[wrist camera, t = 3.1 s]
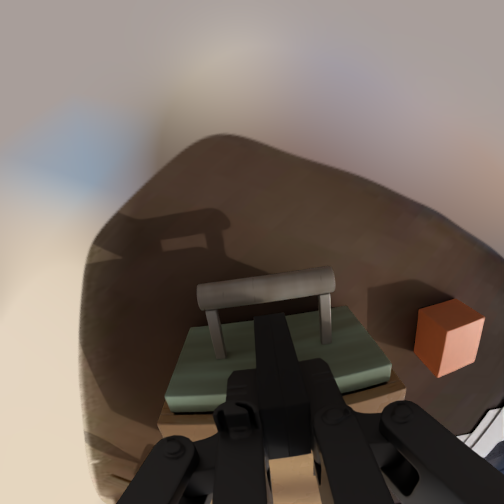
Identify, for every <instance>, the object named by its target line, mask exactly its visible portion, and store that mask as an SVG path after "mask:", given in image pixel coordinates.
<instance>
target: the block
mask: <svg viewBox="0 0 504 504" xmlns="http://www.w3.org/2000/svg"><path fill="white" fill-rule="evenodd" d="M484 318H485V317H484V316H483V315H481V314H479V313H478V312H476V311H475V310H473V309H472V308H470V307H468V306H467V305H465V304H464V303H462V302H460V301H459V300H457V299H452V300H449V301H445V302H442V303H439V304H435V305H432V306H428V307H425V308H421V309H419V311H418V321H417V330H416V338H415V345H414V353H415V354H416V355H417V356H418V357H419V359H420V360H421V361H422V362H423V363H424V364H425V365H426V366H427V367H428V369H429V370H430V371H431V372H432V373H433V374H434V375H435V376H436V377H437V378H439V377H441V376H443V375H446V374H448V373H451V372H453V371H455V370H457V369H460V368H462V367H464V366H466V365H468V364H470V363H473V362H474V361H475V357H476V353H477V350H478V346H479V342H480V337H481V333H482V328H483V323H484Z"/></svg>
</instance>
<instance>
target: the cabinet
mask: <svg viewBox="0 0 504 504" xmlns="http://www.w3.org/2000/svg"><path fill="white" fill-rule="evenodd" d="M367 389H368V390H365V391H361V392H357V393H353V394H349V395H344V396H343V399H344V401H345V403H346V405H348V406H350V407H351V408H352V409H353V410H354V411H356V412H360V413H382V411H383V409H384V407H386V406H387V405H388V404H389V403H392V402H395V401H400V400H404V397H405V392H406V387H405V386H404V384H403V383H402V381H401V380H400V379H399V378H398V376H397V375H396V373H395V372H394V371H393V369H392V368H391V374H390V380H389V381H387V382H384V383H380V384H377V385H373V386H370V387H367ZM212 415H213V414H201V415H194V412H171V411H170V409H169V406H168V404H167V401H166V399H165V402H164V405H163V408H162V411H161V415H160V416H159V419H158V422H157V426H158V428H159V430H160V432H161V434H162V436H163V438H165V437H168V436H172V435H182V436H185V437H187V438H189V439H190V440H191V441H192V442H194V441H198V440H202V439H206V438H208V437H211V436H213V435H214V434H216V433H217V432H218V431H217V428H216V425H215V422H214V419H213V416H212ZM269 467H270V471H271V482H272V493H273V504H322V502H321V498H320V493H319V489H318V484H317V479H316V475H315V476H313V454H312V449H311V454H306V455H300V456H294V457H287V458H280V459H272V460H269ZM210 504H212V501H211V503H210Z"/></svg>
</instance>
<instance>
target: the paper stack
mask: <svg viewBox="0 0 504 504" xmlns="http://www.w3.org/2000/svg"><path fill="white" fill-rule="evenodd" d="M456 437H457V438H459V439H460V440H461V441H462V442H464V443H465V444H466V445H467V446H468V447H470V448H471V449H472V450H473V451H475V452H476V453H477V454H478V455H480V456H481V457H482V458H483V457H486V456H487V455H488V454H489V452H490V451H491V450H492V449H493V448H494V447H495V445H496V444H497V443H498V442H500V441H503V440H504V407H503V408H499V409H494V410H489V412H488V413H487V415H486V416H485V417H484V419H483V420H482V421H481V423H480V424H479V425H478V427H477V428H476V429H475V430H474V432H473V433H471V434H466V435H461V436H456Z"/></svg>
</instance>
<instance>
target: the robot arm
mask: <svg viewBox="0 0 504 504" xmlns="http://www.w3.org/2000/svg"><path fill="white" fill-rule="evenodd" d="M253 318H254V336H255V354H256V368H254V369H246V370H236V371H233V372H232V373H231V375H230V376H229V378H228V380H227V391H226V402H224V403H222V404H220V405H219V406H218V407H217V408H216V409H215V410H214V412H213V415H212V416H213V419H214V422H215V425H216V428H217V431H218V432H217V433H216V434H214V435H213V436H211V437H208V438H206V439H202V440H198V441H194V442H192V441H191V440H190V439H189V438H187V437H185V436H182V435H172V436H168V437H165V438H163V439H161V440H160V441H159V442H158V443H157V444H156V445H155V446H154V448H153V449H152V451H151V452H150V454H149V455H148V457H147V458H146V460H145V461H144V463H143V464H142V466H141V467H140V469H139V471H138V472H137V474H136V475H135V477H134V478H133V480H132V481H131V483H130V484H129V486H128V487H127V489H126V490H125V492H124V493H123V495H122V496H121V497H120V499H119V500H118V502H117V503H116V504H210V503H211V501H212V504H273V493H272V482H271V471H270V467H269V460H272V459H280V458H287V457H294V456H300V455H306V454H311V449H312V454H313V476H315V475H316V479H317V484H318V489H319V493H320V498H321V502H322V504H394V501H393V499H392V496H391V494H390V492H389V489H390V490H391V491H392V493H393V494H394V495H395V496H396V497H397V498H398V500H399V501H400V502H401V503H402V504H504V475H503V474H502V473H501V472H500V471H498V470H497V469H496V468H495V467H493V466H492V465H491V464H490V463H488V462H487V461H486V460H485V459H483V458H482V457H481V456H480V455H478V454H477V453H476V452H475V451H473V450H472V449H471V448H470V447H468V446H467V445H466V444H465V443H464V442H462V441H461V440H460V439H459V438H457V437H456V436H455V435H454V434H452V433H451V432H450V431H449V430H448V429H446V428H445V427H444V426H443V425H441V424H440V423H439V422H438V421H437V420H435V419H434V418H433V417H432V416H430V415H429V414H428V413H427V412H426V411H424V410H423V409H422V408H421V407H420V406H418V405H417V404H415V403H413V402H411V401H406V400H400V401H395V402H392V403H389V404H388V405H387V406H386V407H384V409H383V411H382V413H360V412H356V411H354V410H353V409H352V408H351V407H350V406H348V405H346V403H345V401H344V399H343V396H342V394H341V392H340V390H339V387H338V385H337V383H336V380H335V379H334V376H333V374H332V372H331V369H330V367H329V365H328V363H327V362H325V361H324V360H323V359H321V358H320V357H319V358H314V359H309V360H303V361H298V358H297V355H296V351H295V348H294V344H293V341H292V338H291V334H290V331H289V327H288V324H287V321H286V317H285V314H284V312H283V313H277V314H270V315H263V316H255V317H253ZM388 488H389V489H388Z"/></svg>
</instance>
